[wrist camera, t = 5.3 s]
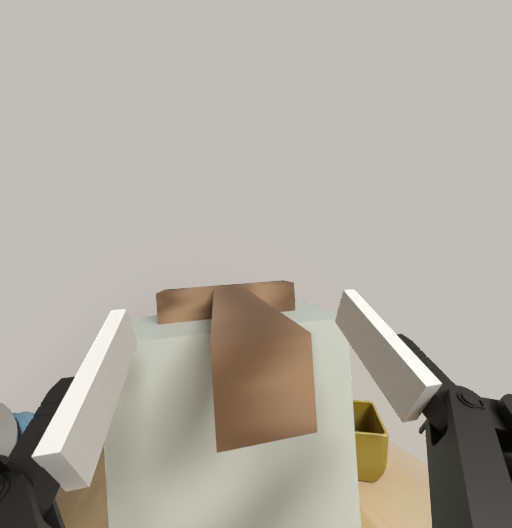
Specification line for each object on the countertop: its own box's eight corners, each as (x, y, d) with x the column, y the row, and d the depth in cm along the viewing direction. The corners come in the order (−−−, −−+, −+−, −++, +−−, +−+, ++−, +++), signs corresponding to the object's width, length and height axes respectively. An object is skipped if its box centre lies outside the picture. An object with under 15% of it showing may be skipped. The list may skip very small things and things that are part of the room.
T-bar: (-20, 501, 5) (-28, 374, 5) (166, 315, 26) (165, 289, 26) (466, 401, 8) (460, 314, 8) (284, 304, 29) (282, 280, 29)
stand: (122, 760, 17) (97, 345, 17) (157, 576, 26) (141, 316, 26) (369, 658, 20) (347, 317, 20) (318, 529, 30) (304, 301, 30)
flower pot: (326, 444, 44) (323, 397, 44) (376, 449, 42) (372, 400, 42) (331, 488, 35) (327, 430, 35) (393, 497, 33) (389, 436, 33)
